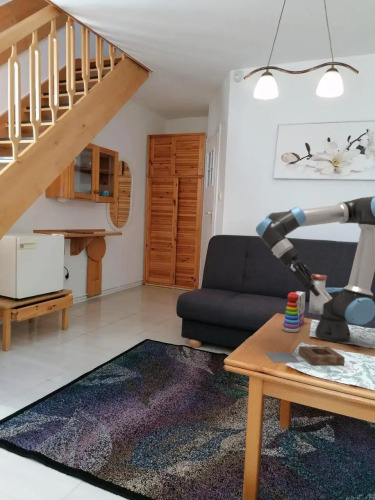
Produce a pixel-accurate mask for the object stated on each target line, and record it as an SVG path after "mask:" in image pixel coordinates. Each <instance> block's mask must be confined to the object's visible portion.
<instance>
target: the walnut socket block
mask: <svg viewBox="0 0 375 500" xmlns="http://www.w3.org/2000/svg"><path fill="white" fill-rule="evenodd" d="M298 355H299V356H300V357H302V359H304V360H305V361H306V362H307V363H308V364H309V365H311V366H316V367H319V366H320V367H321V366H323V367H327V366H328V367H330V366H331V367H334V366H335V367H340V366H341V367H344V366H345V358H346V357H345V356H343V355H342V354H341V353H339V352H337V351H336V350H334V349H333V348H332V347H330V346H322V345H321V346H318V345H317V346H314V345H313V346H308V345H307V346H303V345H301V346H298Z"/></svg>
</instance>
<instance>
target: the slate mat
mask: <svg viewBox="0 0 375 500" xmlns="http://www.w3.org/2000/svg"><path fill="white" fill-rule="evenodd" d="M265 355H266V356H267V357H268V358H269V359H270V360H271V361H272V363H301V361H300V360H299V359H298V358H297V357H296V356H294V355H293V354H292V353H291V352H265Z"/></svg>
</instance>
